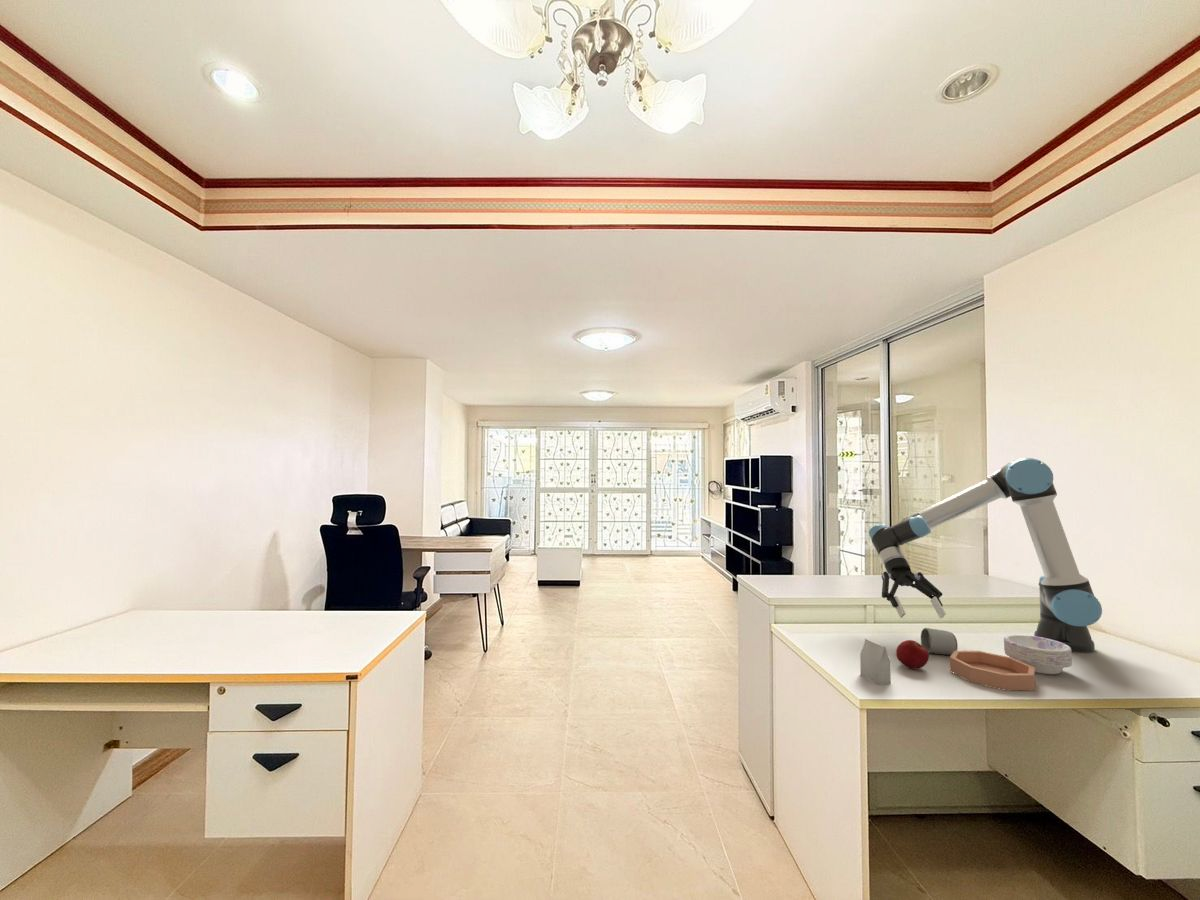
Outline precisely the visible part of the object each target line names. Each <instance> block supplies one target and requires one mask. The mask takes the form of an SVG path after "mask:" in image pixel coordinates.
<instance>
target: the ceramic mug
mask: <svg viewBox="0 0 1200 900" xmlns="http://www.w3.org/2000/svg"><path fill="white" fill-rule="evenodd" d="M920 632H921V633H920V645H922V646H923V647H925V648H926V650H927V651H928V653H929V654H932V653H934V654H935V655H945V654H947V655H946V656H949V655H950V656H951V655H952V654H953V652H954V651H958V648H959V647H958V646H959V645H958V640H957V637H956V635H955V634H954V633H953V632H951V631H948V630H942V629H935V628H930V627H928V628H927V627H924V628H923V629H922V630H921V631H920Z"/></svg>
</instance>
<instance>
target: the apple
mask: <svg viewBox="0 0 1200 900" xmlns="http://www.w3.org/2000/svg"><path fill="white" fill-rule="evenodd" d="M895 654H896V658H897V660H898V661H899V663H900V664H901V665H903V666H904V667H906V668H909V669H911V670H919V669H922V668H923V667H924V666H926V665H927V663H928V661H929V659H930V653H928V651H927V650H926V648H925V647H923V646H922V644H921V643H919V642H917V641H915V640H912V639H906V640H903V641H902V642H901V643H900V644H898V646H897V647H896V651H895Z"/></svg>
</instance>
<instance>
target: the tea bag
mask: <svg viewBox="0 0 1200 900" xmlns="http://www.w3.org/2000/svg"><path fill="white" fill-rule="evenodd" d="M886 648H887V647H886V646H885V645H882V644H879V643H877V642H876V641H875V642H874V641H873V640H870V639H867V638H865V639H864V642H863V645H862V649H861V650H860V656H859V658H860V659H859V660H860V663H859V665H860V670H859V671H860V673H859V674H860V676H861V677H863V678H865V679H867V680H868V681H871V682H874V683H876V684H877V685H880V686H881V685H889V684H891V681H892V680H891V679H892V677H891V659H890V657H889V654H888V651H887V649H886Z"/></svg>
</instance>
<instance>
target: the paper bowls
mask: <svg viewBox="0 0 1200 900" xmlns="http://www.w3.org/2000/svg"><path fill="white" fill-rule="evenodd" d="M1003 644H1004V645H1003V649H1004V650H1003V651H1004V654H1005V656H1007V657H1011V658H1014V659H1016V660H1018V661H1021V662H1023V663H1025V664H1028V665H1030V666H1032V667H1035V674H1036V673H1037V674H1043V675H1057V674H1061V673H1062V672H1063V670H1064V668H1069V667H1071V666H1072V665H1073V656H1072V651H1071V648H1070V647H1069V646H1068V645H1066V644H1064V643H1061V642H1058V641H1055V640H1051V639H1047V638H1042V637H1036V636H1034V635H1027V634H1009V635H1005V636H1004V638H1003Z"/></svg>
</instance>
